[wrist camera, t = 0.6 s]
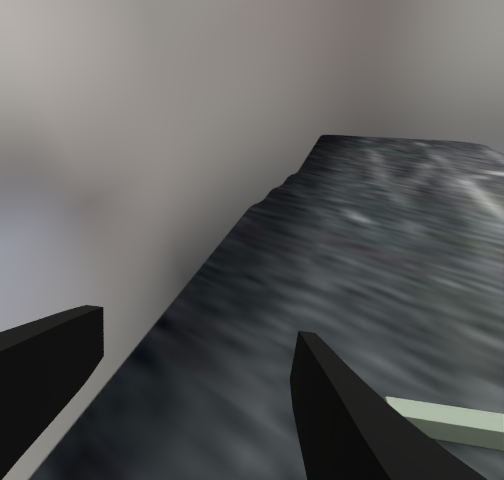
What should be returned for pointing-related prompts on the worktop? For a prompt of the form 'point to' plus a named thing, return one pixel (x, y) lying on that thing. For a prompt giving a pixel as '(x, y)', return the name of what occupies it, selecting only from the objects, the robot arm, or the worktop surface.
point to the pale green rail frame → (453, 423)
